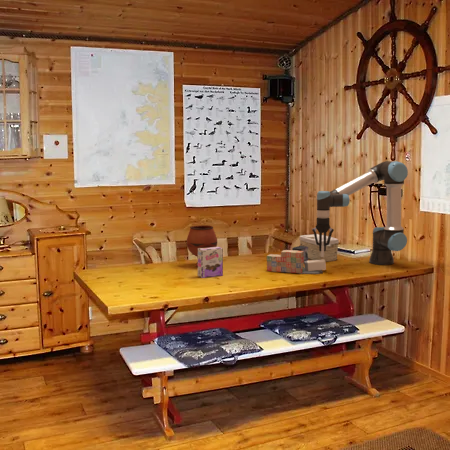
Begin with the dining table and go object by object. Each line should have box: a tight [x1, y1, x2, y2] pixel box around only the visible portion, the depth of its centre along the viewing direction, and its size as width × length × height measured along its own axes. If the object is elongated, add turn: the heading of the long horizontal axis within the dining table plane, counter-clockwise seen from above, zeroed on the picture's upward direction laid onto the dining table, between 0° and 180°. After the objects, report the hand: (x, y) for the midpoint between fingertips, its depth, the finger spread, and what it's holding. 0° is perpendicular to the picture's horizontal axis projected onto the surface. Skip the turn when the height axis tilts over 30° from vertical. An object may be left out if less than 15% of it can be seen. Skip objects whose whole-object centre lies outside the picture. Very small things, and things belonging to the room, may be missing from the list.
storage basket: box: [299, 233, 340, 262], centre depth 382 cm, size 24×16×15 cm
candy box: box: [197, 246, 224, 279], centre depth 333 cm, size 14×6×16 cm, turn 117°
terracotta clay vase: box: [186, 224, 218, 268], centre depth 360 cm, size 19×19×25 cm
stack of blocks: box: [266, 249, 305, 274], centre depth 343 cm, size 21×6×12 cm, turn 66°
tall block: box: [304, 259, 327, 271], centre depth 345 cm, size 5×6×12 cm
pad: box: [299, 266, 324, 275], centre depth 345 cm, size 14×16×1 cm
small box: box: [291, 245, 309, 261], centre depth 368 cm, size 11×6×10 cm, turn 143°
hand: (322, 256), depth 344 cm, fingers closed
